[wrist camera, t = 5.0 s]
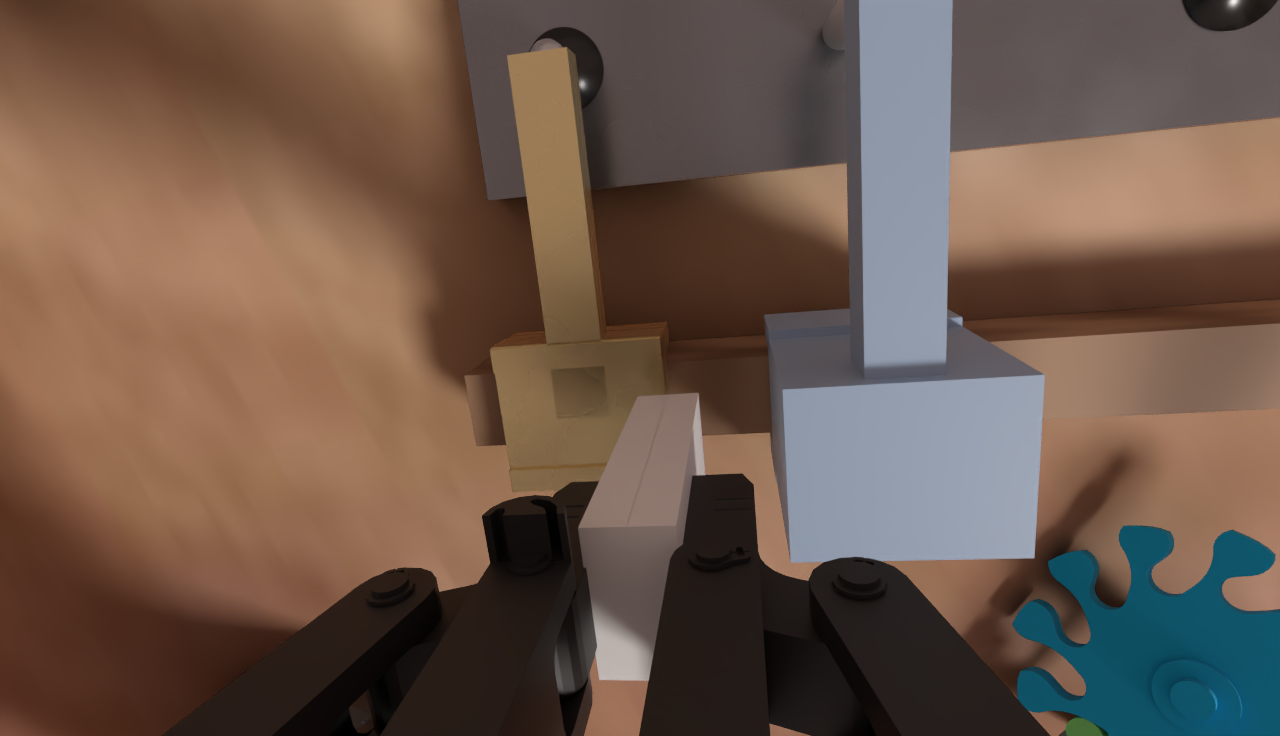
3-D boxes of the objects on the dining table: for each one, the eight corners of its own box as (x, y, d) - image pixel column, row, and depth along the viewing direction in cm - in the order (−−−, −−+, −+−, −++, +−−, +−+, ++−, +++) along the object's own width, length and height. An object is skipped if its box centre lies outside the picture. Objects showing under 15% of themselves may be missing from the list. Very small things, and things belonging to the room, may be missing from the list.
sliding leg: (770, 448, 22) (791, 572, 15) (748, 23, 18) (760, -79, 11) (931, 441, 21) (1033, 568, 14) (936, -3, 18) (1074, -130, 11)
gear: (1186, 454, 20) (1626, 809, 14) (1211, 465, 24) (1560, 744, 18) (921, 652, 25) (1165, 983, 19) (980, 633, 29) (1195, 900, 23)
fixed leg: (536, 459, 23) (512, 492, 20) (477, 61, 20) (440, 42, 17) (679, 453, 22) (673, 487, 20) (642, 38, 19) (629, 15, 16)
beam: (506, 415, 24) (476, 446, 21) (495, 353, 24) (464, 375, 21) (1378, 368, 20) (1486, 398, 17) (1393, 291, 20) (1508, 308, 17)
